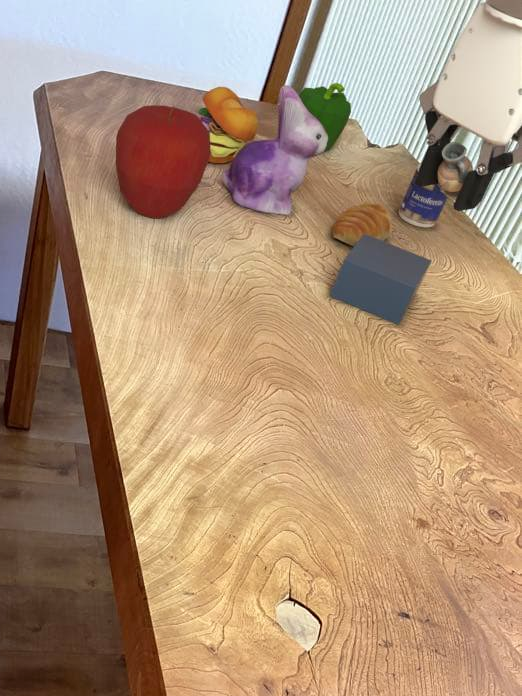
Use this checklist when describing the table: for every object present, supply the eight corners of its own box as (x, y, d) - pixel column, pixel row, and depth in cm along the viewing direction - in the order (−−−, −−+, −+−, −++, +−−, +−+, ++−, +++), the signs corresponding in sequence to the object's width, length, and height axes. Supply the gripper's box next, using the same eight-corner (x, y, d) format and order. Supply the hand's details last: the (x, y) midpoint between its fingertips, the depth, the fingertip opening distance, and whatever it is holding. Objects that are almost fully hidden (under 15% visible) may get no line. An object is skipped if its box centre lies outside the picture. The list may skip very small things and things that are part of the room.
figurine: (309, 215, 125) (348, 104, 114) (249, 218, 121) (284, 103, 110) (273, 184, 130) (307, 75, 120) (214, 186, 126) (244, 73, 115)
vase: (441, 214, 91) (466, 155, 87) (406, 191, 94) (428, 133, 90) (478, 210, 93) (504, 152, 89) (443, 188, 96) (465, 131, 92)
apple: (175, 190, 122) (200, 89, 113) (207, 233, 115) (236, 128, 106) (93, 187, 118) (111, 81, 109) (120, 231, 111) (142, 121, 102)
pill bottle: (398, 222, 129) (427, 154, 122) (395, 206, 133) (424, 139, 126) (436, 232, 129) (468, 164, 122) (433, 216, 133) (463, 149, 126)
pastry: (359, 256, 119) (370, 229, 116) (317, 234, 121) (327, 207, 118) (391, 239, 124) (402, 213, 122) (350, 218, 127) (360, 192, 124)
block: (349, 269, 115) (364, 233, 112) (415, 296, 114) (432, 260, 110) (329, 296, 109) (344, 258, 106) (398, 324, 107) (415, 287, 104)
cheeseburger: (173, 129, 138) (205, 66, 131) (234, 162, 140) (268, 102, 133) (167, 153, 130) (200, 87, 124) (232, 187, 132) (267, 124, 126)
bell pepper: (281, 130, 147) (301, 65, 140) (327, 137, 148) (349, 74, 141) (293, 152, 141) (314, 85, 134) (341, 159, 142) (365, 94, 136)
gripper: (633, 35, 78) (529, 231, 91) (485, -29, 87) (409, 158, 99) (585, 36, 74) (484, 240, 87) (435, -31, 83) (363, 163, 96)
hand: (445, 194), depth 93 cm, fingers closed on vase, 4 cm apart
